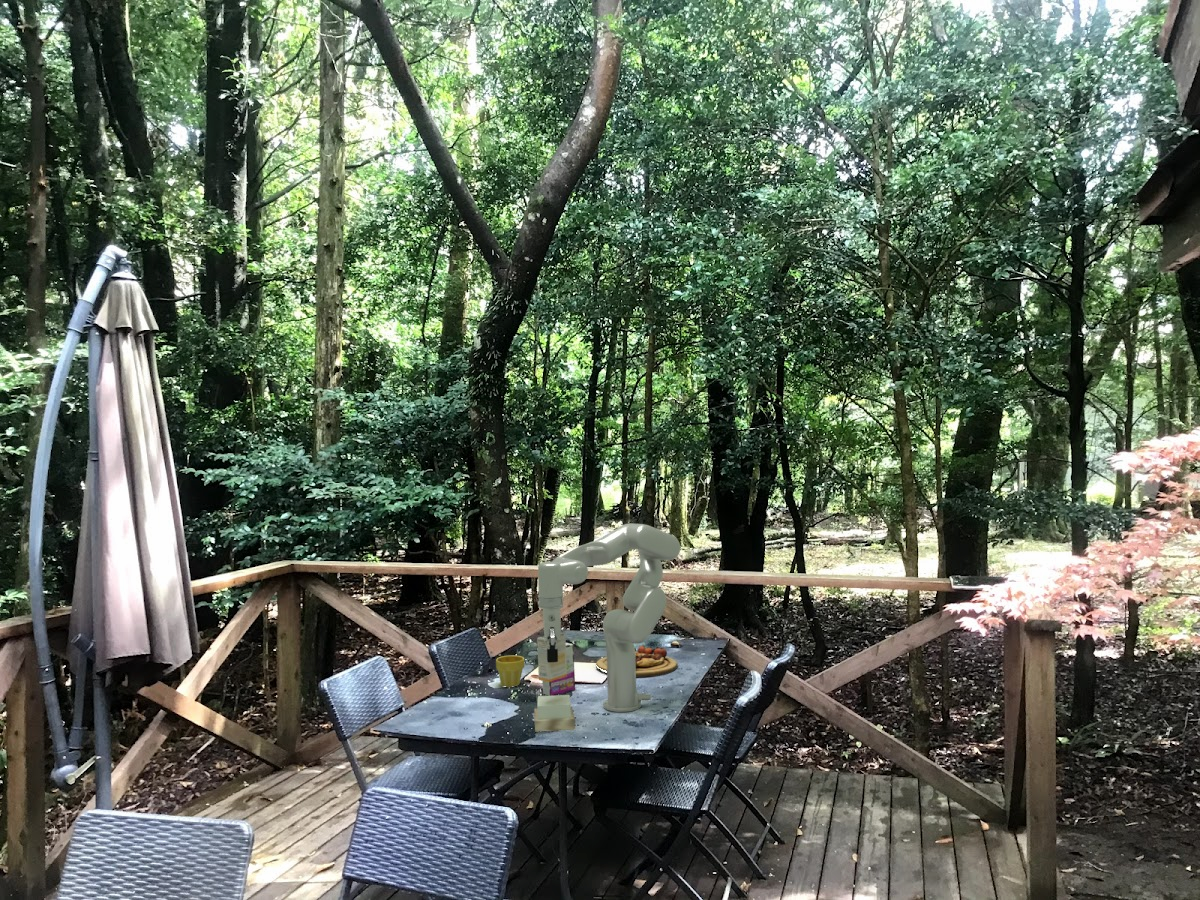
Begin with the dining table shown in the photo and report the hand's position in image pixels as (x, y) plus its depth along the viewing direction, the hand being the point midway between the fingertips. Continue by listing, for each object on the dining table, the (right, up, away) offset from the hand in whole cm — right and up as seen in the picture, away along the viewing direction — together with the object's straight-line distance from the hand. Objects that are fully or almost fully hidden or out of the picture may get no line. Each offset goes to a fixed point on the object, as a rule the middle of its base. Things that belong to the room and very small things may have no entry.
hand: (552, 658), depth 239 cm
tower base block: (+1, -21, 0) cm, 21 cm away
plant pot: (-18, -22, +44) cm, 52 cm away
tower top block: (+1, -17, 0) cm, 17 cm away
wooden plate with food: (+29, -22, +65) cm, 75 cm away
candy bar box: (0, -21, +34) cm, 40 cm away
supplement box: (0, -6, 0) cm, 6 cm away
